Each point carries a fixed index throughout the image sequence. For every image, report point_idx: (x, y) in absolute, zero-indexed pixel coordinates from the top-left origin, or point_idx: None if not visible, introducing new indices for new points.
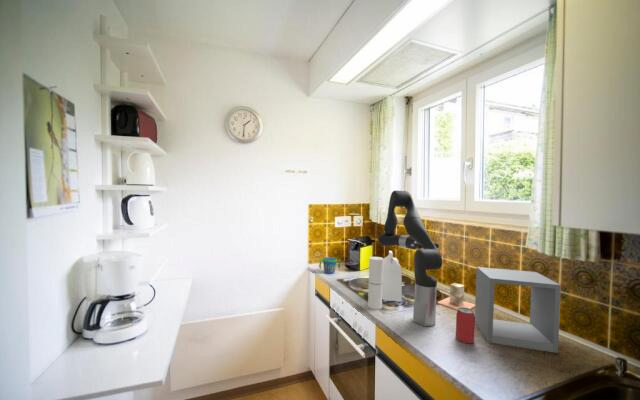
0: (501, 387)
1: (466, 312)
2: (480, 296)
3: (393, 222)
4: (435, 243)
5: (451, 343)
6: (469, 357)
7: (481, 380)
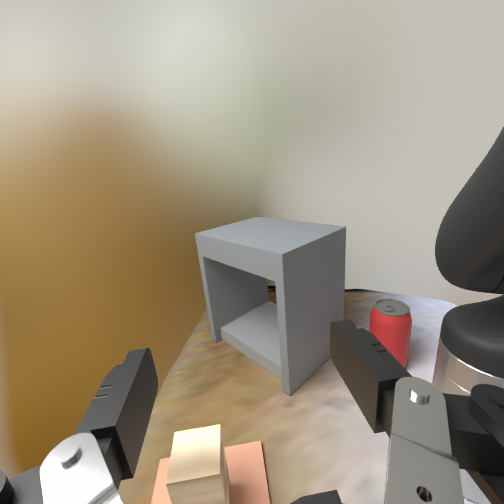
0: (411, 300)
1: (394, 304)
2: (312, 305)
3: None
4: (118, 380)
5: (429, 362)
6: (417, 333)
7: (431, 309)
